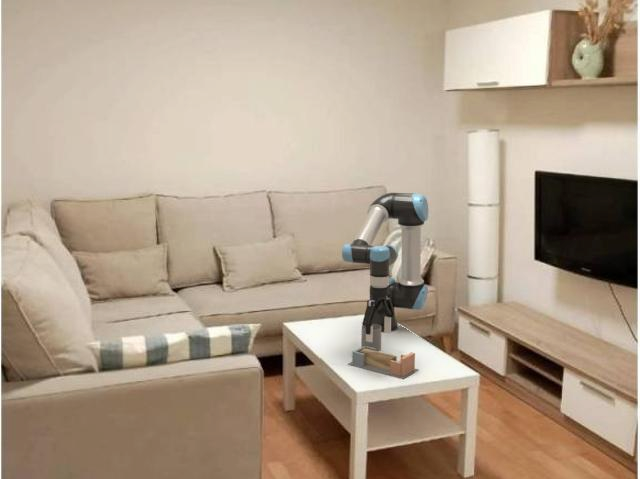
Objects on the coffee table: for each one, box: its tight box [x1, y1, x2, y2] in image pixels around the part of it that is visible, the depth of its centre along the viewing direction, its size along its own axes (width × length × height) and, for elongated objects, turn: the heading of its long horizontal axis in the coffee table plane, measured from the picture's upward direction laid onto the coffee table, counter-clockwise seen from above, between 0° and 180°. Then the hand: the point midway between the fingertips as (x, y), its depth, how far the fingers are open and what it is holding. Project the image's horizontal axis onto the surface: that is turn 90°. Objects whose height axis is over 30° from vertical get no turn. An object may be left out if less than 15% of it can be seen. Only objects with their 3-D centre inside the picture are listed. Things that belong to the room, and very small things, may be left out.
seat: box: [347, 346, 420, 380], centre depth 295 cm, size 12×26×5 cm, turn 53°
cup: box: [360, 324, 382, 352], centre depth 317 cm, size 8×8×10 cm
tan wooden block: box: [359, 349, 398, 371], centre depth 297 cm, size 4×15×5 cm, turn 54°
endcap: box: [390, 352, 416, 376], centre depth 290 cm, size 9×6×7 cm, turn 143°
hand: (378, 337), depth 296 cm, fingers open, 13 cm apart
